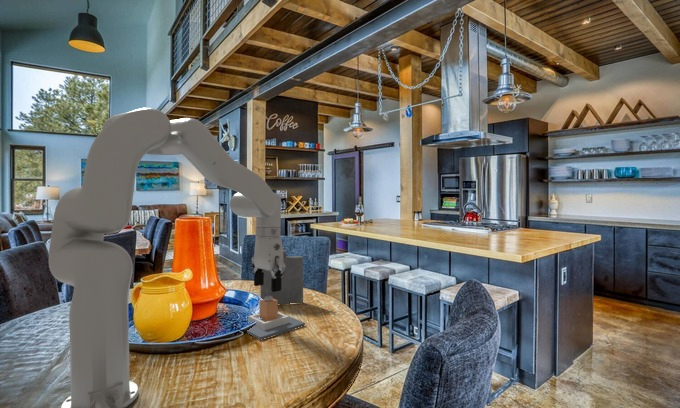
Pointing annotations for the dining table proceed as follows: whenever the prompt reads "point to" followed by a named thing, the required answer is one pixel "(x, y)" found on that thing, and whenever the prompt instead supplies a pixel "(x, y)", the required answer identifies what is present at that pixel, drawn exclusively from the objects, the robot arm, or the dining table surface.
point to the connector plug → (268, 308)
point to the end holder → (272, 325)
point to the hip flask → (286, 282)
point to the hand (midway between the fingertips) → (267, 288)
